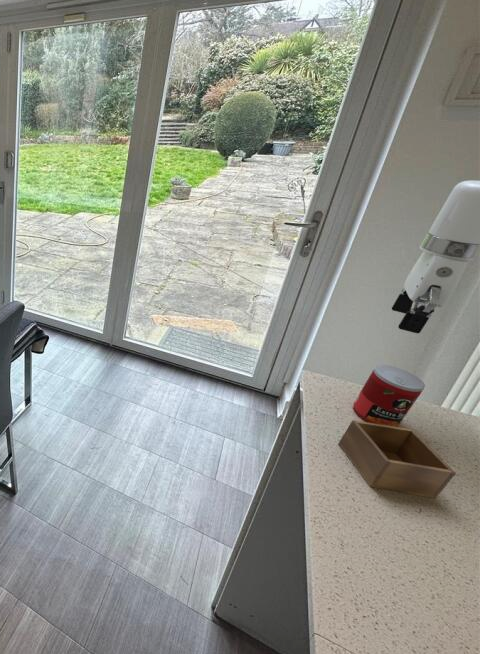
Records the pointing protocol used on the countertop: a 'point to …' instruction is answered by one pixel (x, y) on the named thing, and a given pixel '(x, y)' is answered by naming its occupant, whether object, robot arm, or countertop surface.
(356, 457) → the box
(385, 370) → the canned food
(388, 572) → the countertop surface
